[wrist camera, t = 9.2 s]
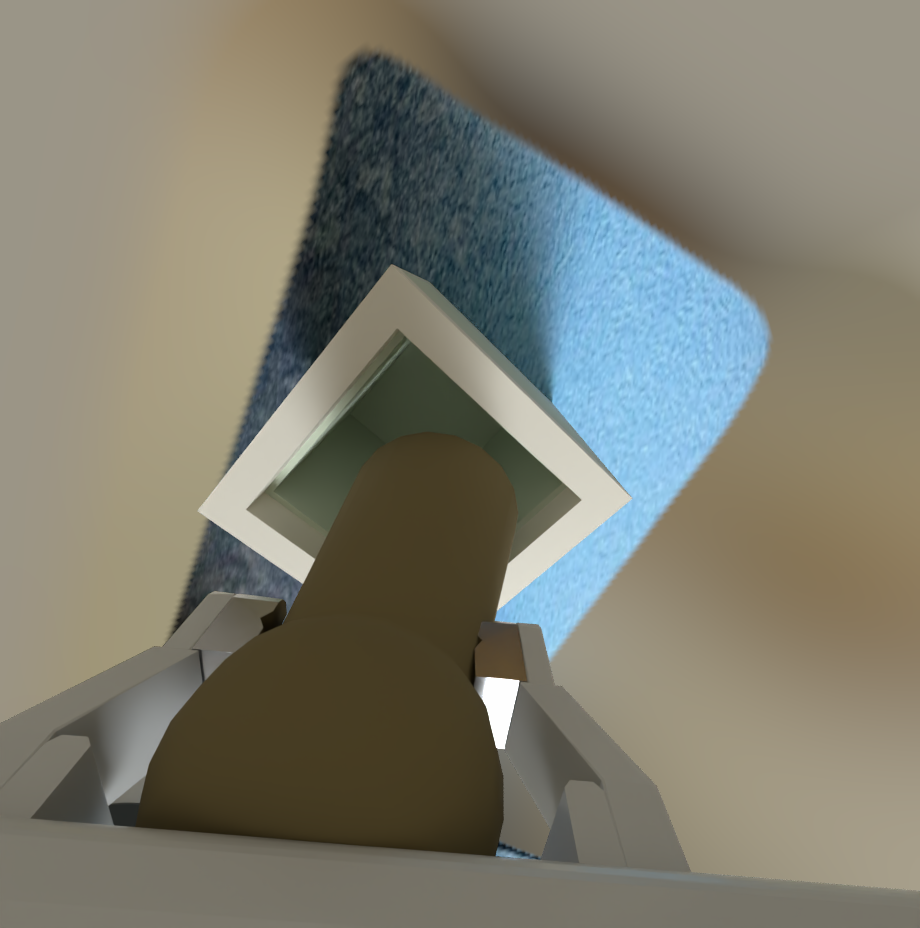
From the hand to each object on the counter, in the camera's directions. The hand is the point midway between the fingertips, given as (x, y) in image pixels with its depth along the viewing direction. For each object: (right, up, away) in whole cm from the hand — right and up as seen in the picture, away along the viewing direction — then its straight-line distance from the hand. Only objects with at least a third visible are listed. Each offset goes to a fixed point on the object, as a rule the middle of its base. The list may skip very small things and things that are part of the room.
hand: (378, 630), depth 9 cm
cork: (+1, +2, +6) cm, 6 cm away
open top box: (0, +8, +19) cm, 21 cm away
